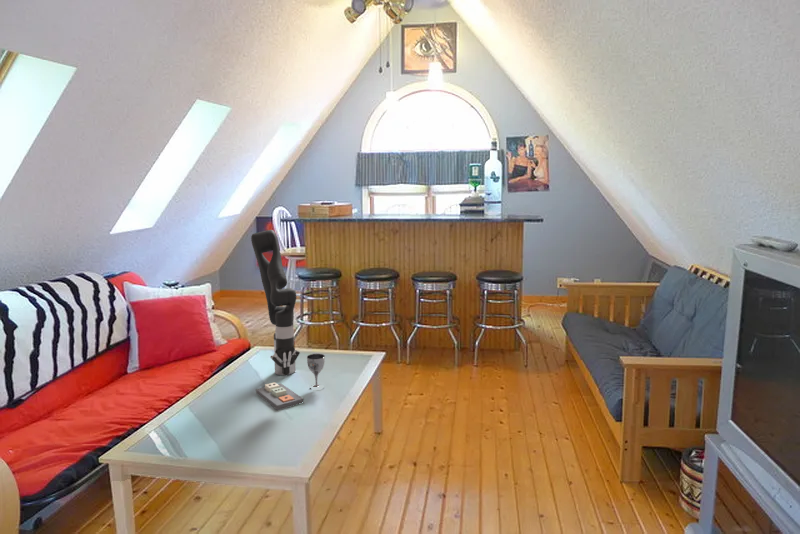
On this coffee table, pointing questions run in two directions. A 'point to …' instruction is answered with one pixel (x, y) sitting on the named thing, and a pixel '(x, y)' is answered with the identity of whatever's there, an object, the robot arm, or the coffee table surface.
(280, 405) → the button board
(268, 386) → the cream button
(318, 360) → the wine glass
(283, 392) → the sage button
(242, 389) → the coffee table surface
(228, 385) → the coffee table surface
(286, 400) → the terracotta button
